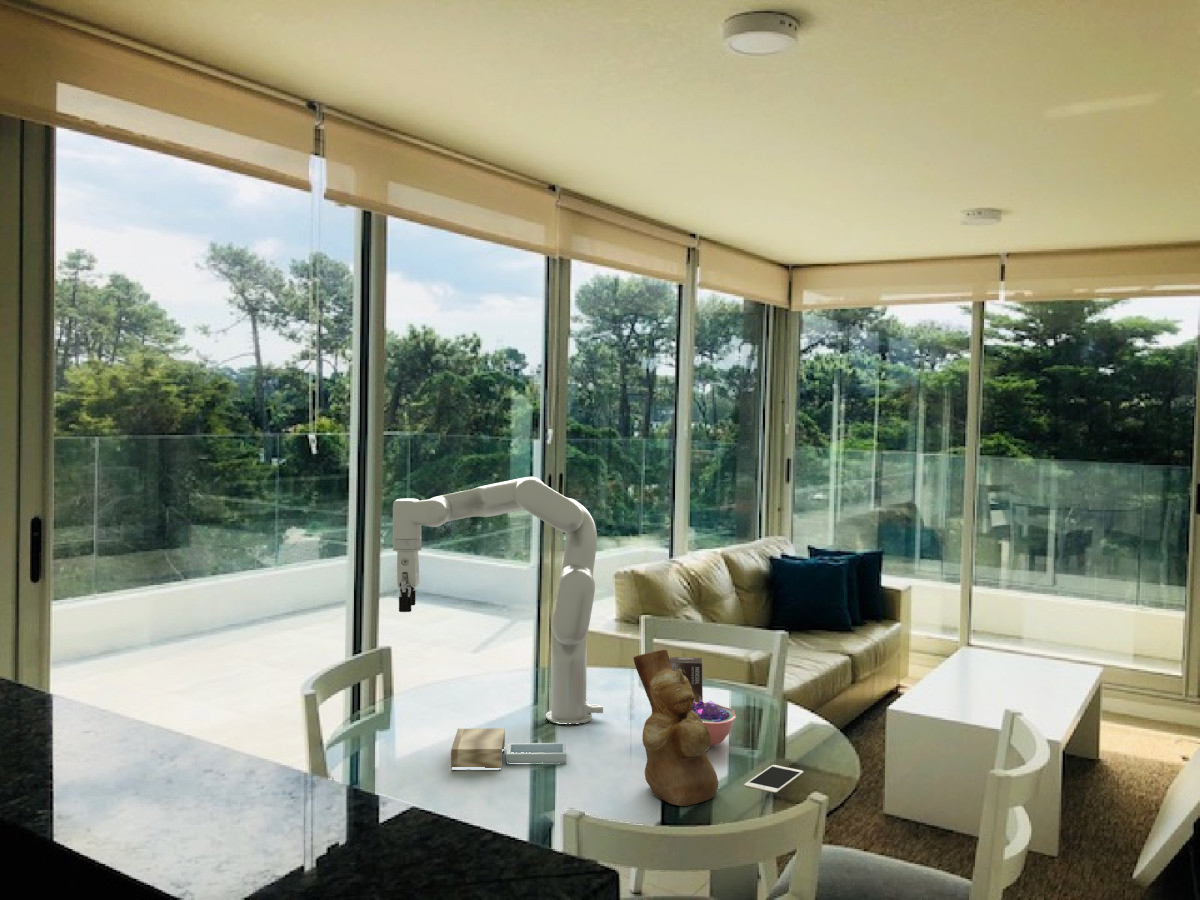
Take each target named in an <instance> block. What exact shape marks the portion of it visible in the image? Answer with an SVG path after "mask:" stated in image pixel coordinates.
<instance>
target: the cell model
mask: <svg viewBox="0 0 1200 900" xmlns="http://www.w3.org/2000/svg"><path fill="white" fill-rule="evenodd" d="M692 711H694V712H695V713H697V715H698V716H699V717H700V719H701V720H702V722H703V724H704V725H705V726H706V727H707V729H708V731H709V734H710V746H709V748H711V747H715V746H718V745H719V744H722V743H723V741H725V739H726V738H727V737H728V736H729V734H730V733H731V730H732V728H733V726H734V722H735V720H736V718H737V715H736V713H735V712H736V711H735V710H733V709H731V708H729V707H726V706H723V705H720V704H717V703H715V702H714V701H712V700H709V701H706V702H704V701H703V702H702V701H701V700H700V701H699V702H698V703H696V702H693V708H692Z"/></svg>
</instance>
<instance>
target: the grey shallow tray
mask: <svg viewBox="0 0 1200 900" xmlns="http://www.w3.org/2000/svg"><path fill="white" fill-rule="evenodd" d="M511 752H514V753H511ZM516 752H517V753H516ZM521 752H524V753H521ZM526 752H527V753H526ZM529 752H531V753H529ZM534 752H545V753H534ZM505 754H506V758H505V759H506V762H508V763H542V762H543V763H560V764H559V765H567V743H566V742H527V743H525V742H515V743H514V742H513V743H512V742H511V743H510V742H509V743H508V744H507V749H506V753H505Z"/></svg>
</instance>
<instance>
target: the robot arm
mask: <svg viewBox="0 0 1200 900" xmlns="http://www.w3.org/2000/svg"><path fill="white" fill-rule="evenodd" d="M523 510H525V511H527V512H528V513H530V514H531V515H533V516H534V517H536V518H537V519H539V520H541V521H543V522H544V523H546V524H548V525H549V526H551V527H553V528H555V529H556V530H558V531H560V532H562V533H565V534H564V535H565V543H564V546H565V547H564V554H563V560H562V565H561V571H560V574H559V576H558V590H557V596H556V602H555V609H554V610H553V612H552V615H551V619H550V620H551V621H550V625H551V669H550V670H551V671H550V673H551V676H550V677H551V684H550V686H551V693H550V695H551V697H550V700H551V701H550V704H551V705H550V709H551V710H550V711H547V712H546V714H545V719H546V718H547V719H548V720H551V721H555V722H559V723H567V724H569V723H571V724H576V723H584V724H587V723H589V722H591V720H592V719H593V714H604V706H603V705H599V704H590V703H588V699H587V660H588V659H587V656H588V655H587V652H588V651H587V650H588V649H587V644H588V643H587V642H588V641H587V640H588V639H587V635H588V632H589V629H590V628H589V627H590V623H591V622H590V621H591V618H592V613H593V612H592V611H593V606H594V605H593V604H594V598H595V592H596V591H595V590H596V582H595V579H594V567H595V561H596V553H597V544H598V532H597V528H596V526H597V525H596V524H595V521H594V518H593V517H592V515H591V513H590V512H589V511H588V509H587V508H586V507H585V506H584V505H583V504H582V503H580V502H579V501H578V500H576V499H573V498H569V497H566V496H564V495H563V494H561V493H560V492H557V491H556V490H554V489H553V488H551V487H549V486H548V485H547V484H545V483H544V481H542V480H541V479H540V478H538V477H536V476H526V477H520V478H516V479H511V480H506V481H500V482H496V483H491V484H487V485H482V486H478V487H475V488H471V489H467V490H462V491H457V492H453V493H447V494H443V495H438V496H433V497H431V498H429V499H422V500H419V499H418V498H397V499H395V500H394V501H393V503H392V552H393V551H394V552H396V554H397V555H396V557H397V558H396V572H397V573H396V577H397V580H396V581H397V582H396V583H397V588H399V596H398V612H400V613H411V612H412V606H415V605H416V588H417V587H418V586H419V584H420V568H419V567H420V566H419V565H420V563H419V562H420V561H419V559H420V558H419V552H420V551H422V526H424V527H430V528H431V527H433V528H436V527H441V526H443V525H444V524H445V523H448V522H451V521H457V520H461V519H468V518H473V517H474V518H475V517H480V518H488V517H489V518H490V517H495V516H500V515H505V514H509V513H514V512H520V511H523Z"/></svg>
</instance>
